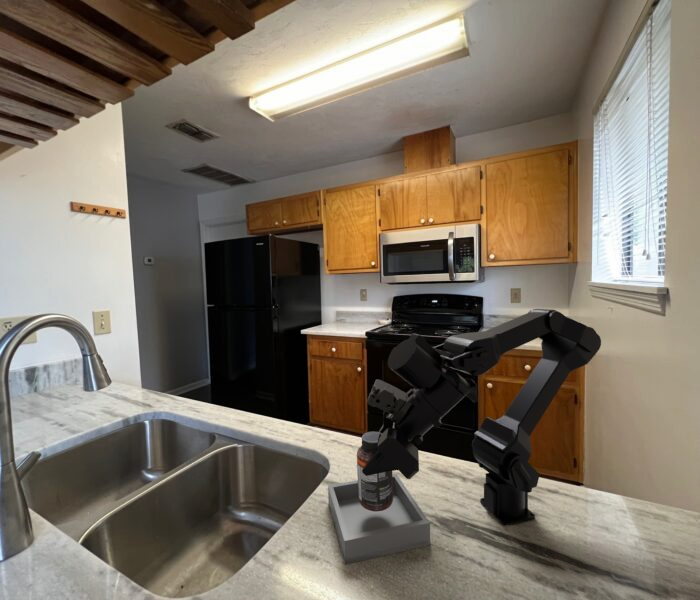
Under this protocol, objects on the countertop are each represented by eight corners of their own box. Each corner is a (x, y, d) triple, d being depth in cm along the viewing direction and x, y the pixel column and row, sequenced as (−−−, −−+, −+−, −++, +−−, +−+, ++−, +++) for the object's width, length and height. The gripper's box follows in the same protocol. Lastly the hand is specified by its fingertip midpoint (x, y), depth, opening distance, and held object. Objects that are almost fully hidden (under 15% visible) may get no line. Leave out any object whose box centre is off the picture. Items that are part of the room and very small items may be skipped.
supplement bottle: (371, 486, 58) (370, 425, 58) (400, 499, 55) (398, 434, 54) (351, 503, 54) (349, 438, 53) (380, 519, 50) (378, 448, 50)
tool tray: (396, 491, 62) (396, 473, 62) (430, 544, 49) (430, 522, 49) (328, 503, 59) (328, 485, 59) (344, 564, 46) (344, 540, 46)
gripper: (397, 354, 62) (344, 407, 64) (392, 382, 43) (317, 456, 46) (440, 395, 61) (384, 448, 63) (453, 442, 42) (373, 514, 45)
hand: (366, 462), depth 54 cm, fingers closed on supplement bottle, 6 cm apart
